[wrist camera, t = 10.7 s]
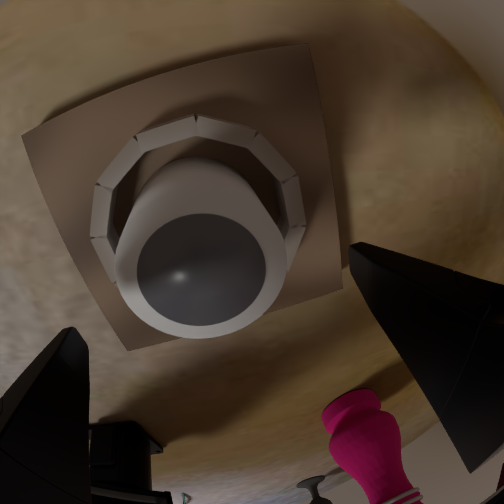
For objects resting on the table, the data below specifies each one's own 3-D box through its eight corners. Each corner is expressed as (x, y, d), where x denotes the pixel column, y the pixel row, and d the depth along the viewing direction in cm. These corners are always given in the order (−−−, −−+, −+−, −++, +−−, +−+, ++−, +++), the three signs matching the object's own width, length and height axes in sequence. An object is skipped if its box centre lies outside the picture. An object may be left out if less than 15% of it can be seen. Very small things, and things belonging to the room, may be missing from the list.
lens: (268, 252, 17) (298, 314, 12) (160, 285, 16) (155, 355, 12) (241, 141, 14) (270, 166, 9) (116, 180, 13) (84, 225, 9)
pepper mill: (386, 396, 30) (462, 536, 13) (334, 430, 32) (394, 570, 14) (364, 376, 27) (457, 550, 10) (304, 415, 28) (370, 588, 11)
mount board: (333, 275, 20) (353, 302, 18) (129, 335, 19) (125, 368, 17) (297, 47, 13) (320, 38, 11) (34, 131, 12) (6, 141, 10)
